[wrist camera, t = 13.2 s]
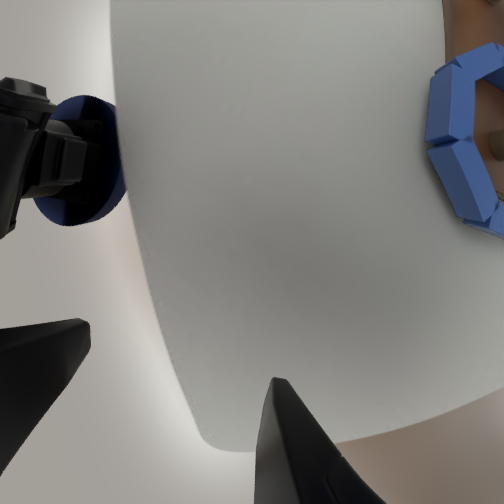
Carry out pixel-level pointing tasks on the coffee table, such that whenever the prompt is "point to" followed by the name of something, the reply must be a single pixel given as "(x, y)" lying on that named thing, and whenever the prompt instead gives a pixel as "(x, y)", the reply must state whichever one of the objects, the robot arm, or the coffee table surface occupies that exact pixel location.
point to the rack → (486, 94)
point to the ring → (464, 136)
